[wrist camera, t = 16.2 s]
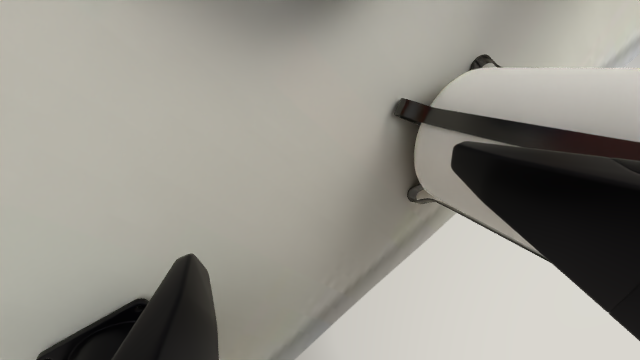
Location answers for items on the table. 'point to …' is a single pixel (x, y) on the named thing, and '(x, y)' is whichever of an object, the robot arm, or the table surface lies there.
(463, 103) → the coffee press
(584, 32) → the table surface
